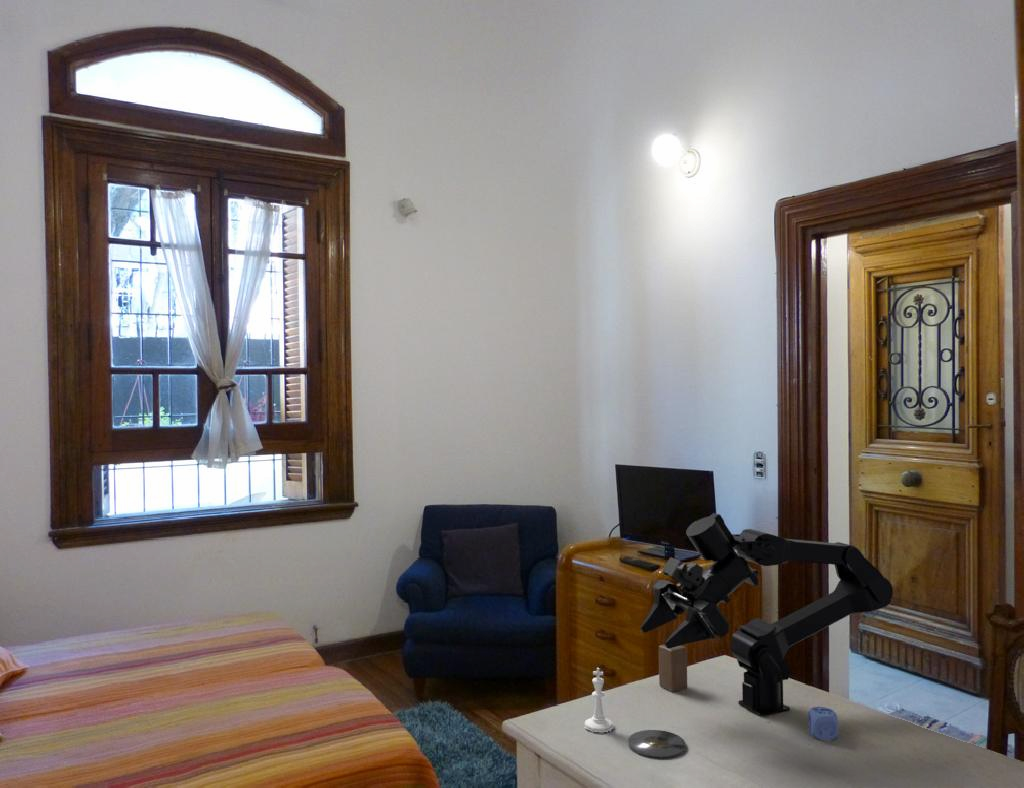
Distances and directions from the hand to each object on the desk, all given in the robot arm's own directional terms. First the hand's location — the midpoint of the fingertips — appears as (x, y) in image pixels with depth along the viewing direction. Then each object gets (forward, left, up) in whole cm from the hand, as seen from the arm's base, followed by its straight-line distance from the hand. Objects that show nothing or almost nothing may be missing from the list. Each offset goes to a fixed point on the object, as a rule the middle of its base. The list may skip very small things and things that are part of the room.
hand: (653, 638), depth 131 cm
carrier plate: (+5, +8, -14) cm, 17 cm away
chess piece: (+10, -2, -15) cm, 18 cm away
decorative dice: (-22, +16, -15) cm, 31 cm away
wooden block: (-12, -12, -15) cm, 23 cm away
